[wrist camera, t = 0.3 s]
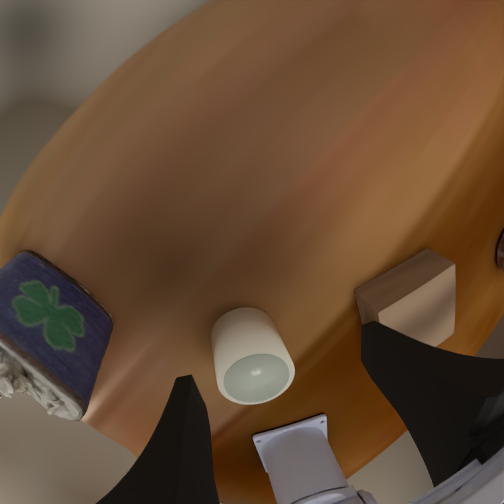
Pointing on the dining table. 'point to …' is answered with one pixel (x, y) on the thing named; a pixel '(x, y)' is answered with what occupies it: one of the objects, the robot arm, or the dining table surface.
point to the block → (413, 298)
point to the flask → (50, 336)
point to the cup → (250, 357)
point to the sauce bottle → (500, 253)
